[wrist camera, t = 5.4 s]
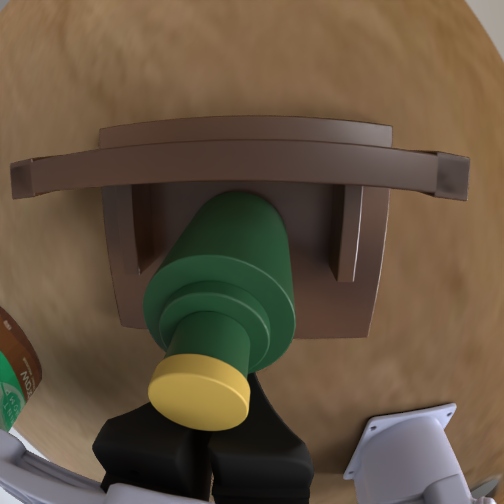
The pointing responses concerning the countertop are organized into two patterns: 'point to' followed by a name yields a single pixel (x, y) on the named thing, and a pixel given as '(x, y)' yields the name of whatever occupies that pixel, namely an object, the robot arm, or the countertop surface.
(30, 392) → the food container
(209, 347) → the bottle
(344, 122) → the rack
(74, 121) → the countertop surface
